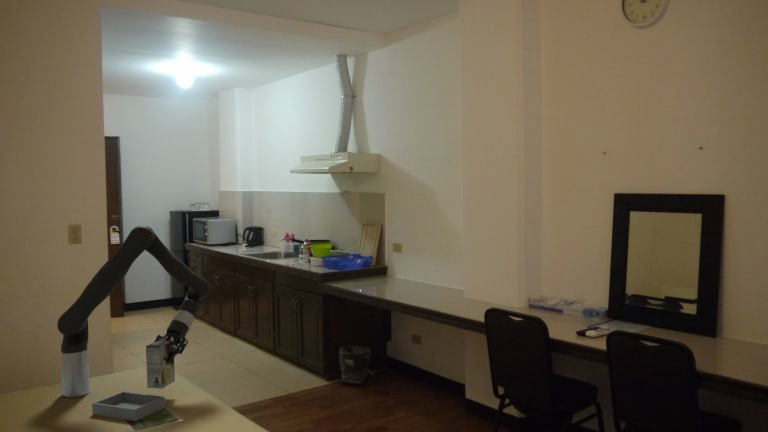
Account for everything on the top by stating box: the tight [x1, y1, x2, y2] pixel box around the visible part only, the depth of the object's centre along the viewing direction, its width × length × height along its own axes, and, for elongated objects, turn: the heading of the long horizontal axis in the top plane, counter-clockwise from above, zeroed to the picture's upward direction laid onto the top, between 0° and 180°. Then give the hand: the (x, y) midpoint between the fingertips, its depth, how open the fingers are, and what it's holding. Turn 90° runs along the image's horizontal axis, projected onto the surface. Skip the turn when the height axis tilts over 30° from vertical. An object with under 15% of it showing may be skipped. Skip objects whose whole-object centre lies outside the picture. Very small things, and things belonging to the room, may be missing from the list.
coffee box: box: [145, 340, 176, 390], centre depth 230 cm, size 9×6×16 cm
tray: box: [91, 390, 166, 422], centre depth 218 cm, size 20×14×4 cm
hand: (160, 361), depth 230 cm, fingers closed on coffee box, 7 cm apart
